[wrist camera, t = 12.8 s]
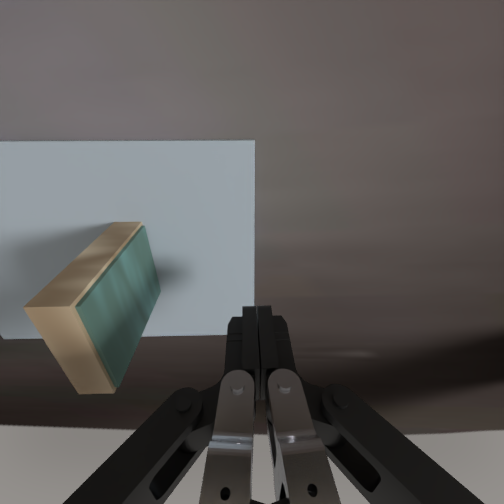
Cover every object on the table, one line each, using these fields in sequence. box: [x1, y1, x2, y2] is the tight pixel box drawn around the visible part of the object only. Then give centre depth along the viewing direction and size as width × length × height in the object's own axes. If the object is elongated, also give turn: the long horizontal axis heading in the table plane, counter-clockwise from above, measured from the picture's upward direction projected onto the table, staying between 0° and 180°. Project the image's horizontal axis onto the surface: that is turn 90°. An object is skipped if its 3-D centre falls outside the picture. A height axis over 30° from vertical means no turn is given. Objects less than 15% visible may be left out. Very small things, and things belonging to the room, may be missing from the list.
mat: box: [0, 140, 255, 339], centre depth 18 cm, size 22×16×1 cm
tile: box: [23, 222, 161, 394], centre depth 15 cm, size 2×6×8 cm, turn 0°
